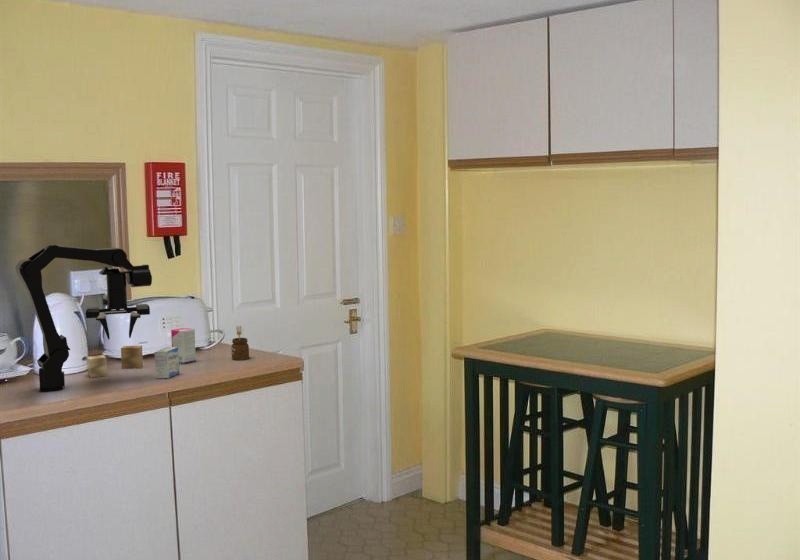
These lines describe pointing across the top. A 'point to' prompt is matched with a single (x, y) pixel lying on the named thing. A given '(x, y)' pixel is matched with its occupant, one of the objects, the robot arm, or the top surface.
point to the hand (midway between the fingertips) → (119, 338)
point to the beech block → (97, 366)
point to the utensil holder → (240, 347)
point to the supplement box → (184, 344)
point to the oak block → (131, 357)
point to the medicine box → (167, 362)
